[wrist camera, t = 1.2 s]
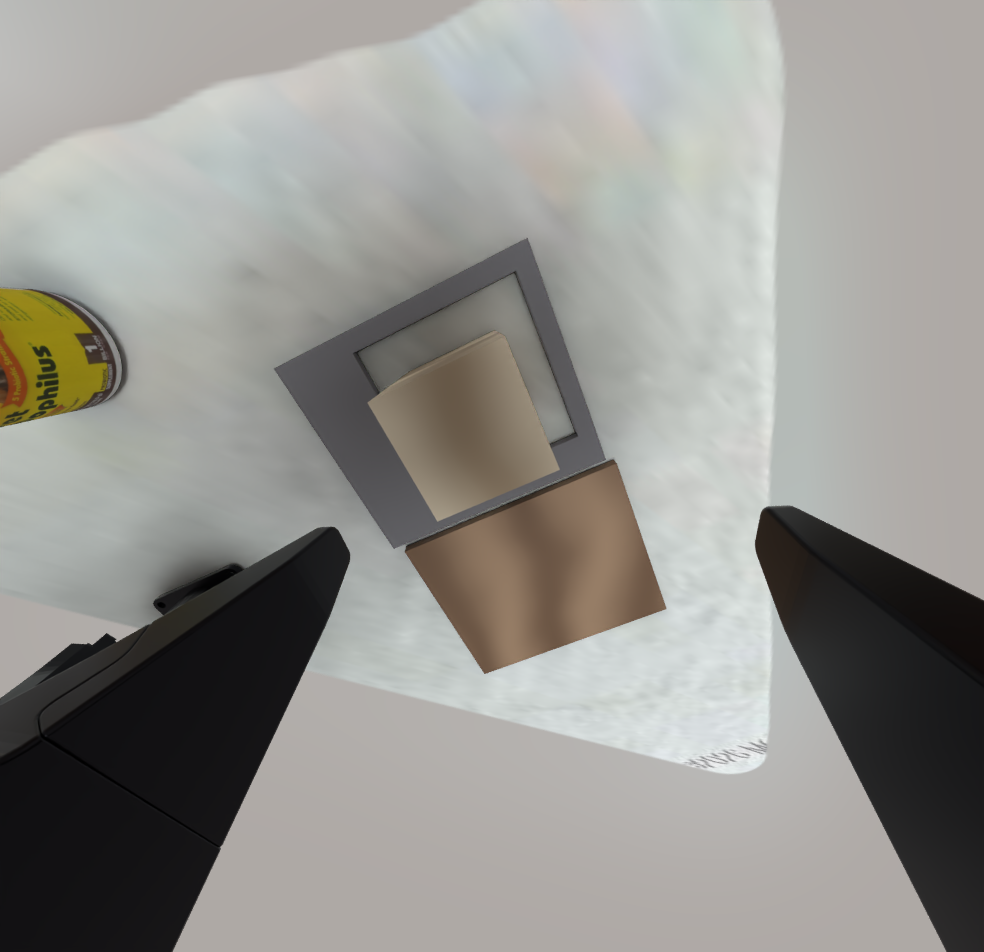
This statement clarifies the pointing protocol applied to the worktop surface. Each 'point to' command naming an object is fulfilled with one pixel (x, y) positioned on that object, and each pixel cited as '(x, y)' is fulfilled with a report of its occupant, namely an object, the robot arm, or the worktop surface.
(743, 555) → the worktop surface
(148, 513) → the worktop surface
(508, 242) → the worktop surface
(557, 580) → the board
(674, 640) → the worktop surface
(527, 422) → the beige wooden block
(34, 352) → the supplement bottle
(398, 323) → the mat
